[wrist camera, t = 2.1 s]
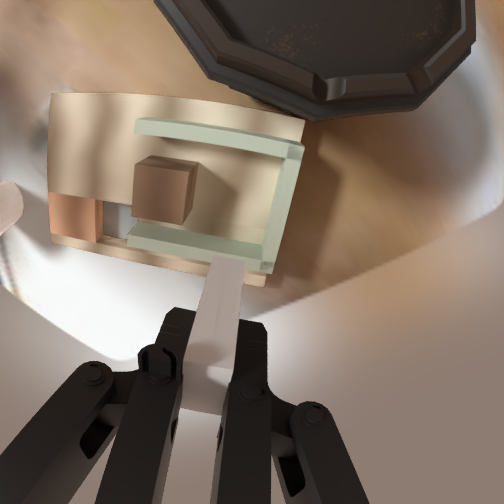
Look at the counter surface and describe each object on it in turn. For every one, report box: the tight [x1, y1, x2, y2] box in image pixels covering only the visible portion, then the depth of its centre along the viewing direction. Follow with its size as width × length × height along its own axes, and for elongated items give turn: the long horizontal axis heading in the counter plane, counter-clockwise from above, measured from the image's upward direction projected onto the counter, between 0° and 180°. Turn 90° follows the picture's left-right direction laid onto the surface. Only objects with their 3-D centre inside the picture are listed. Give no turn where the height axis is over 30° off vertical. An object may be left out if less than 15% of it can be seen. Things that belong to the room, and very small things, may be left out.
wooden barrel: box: [154, 0, 476, 122], centre depth 15 cm, size 18×18×16 cm
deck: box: [47, 92, 305, 287], centre depth 28 cm, size 25×17×2 cm
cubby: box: [127, 117, 305, 274], centre depth 26 cm, size 14×12×3 cm
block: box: [131, 155, 199, 226], centre depth 25 cm, size 4×4×4 cm
